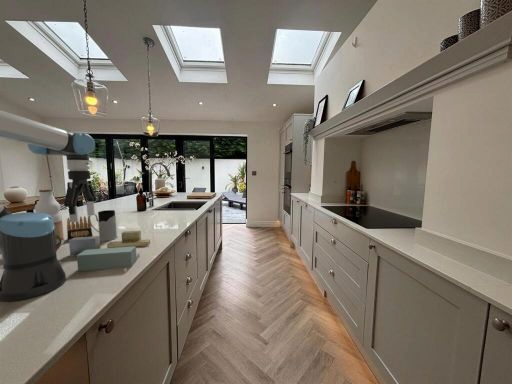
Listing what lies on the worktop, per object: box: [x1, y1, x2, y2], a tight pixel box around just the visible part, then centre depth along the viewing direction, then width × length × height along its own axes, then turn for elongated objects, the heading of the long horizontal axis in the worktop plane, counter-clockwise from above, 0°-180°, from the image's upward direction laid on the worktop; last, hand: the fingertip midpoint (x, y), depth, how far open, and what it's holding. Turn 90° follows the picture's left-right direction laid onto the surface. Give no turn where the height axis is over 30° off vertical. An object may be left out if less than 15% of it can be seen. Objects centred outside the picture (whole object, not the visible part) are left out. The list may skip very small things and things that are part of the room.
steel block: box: [68, 235, 101, 257], centre depth 98 cm, size 4×10×7 cm, turn 102°
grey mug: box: [89, 209, 119, 242], centre depth 119 cm, size 9×14×15 cm, turn 89°
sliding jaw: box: [106, 230, 151, 248], centre depth 109 cm, size 7×18×6 cm, turn 102°
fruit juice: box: [34, 188, 65, 246], centre depth 107 cm, size 9×9×28 cm
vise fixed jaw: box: [76, 246, 141, 272], centre depth 87 cm, size 10×18×6 cm, turn 102°
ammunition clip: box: [66, 215, 94, 241], centre depth 120 cm, size 11×2×12 cm, turn 122°
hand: (83, 218), depth 97 cm, fingers open, 13 cm apart
